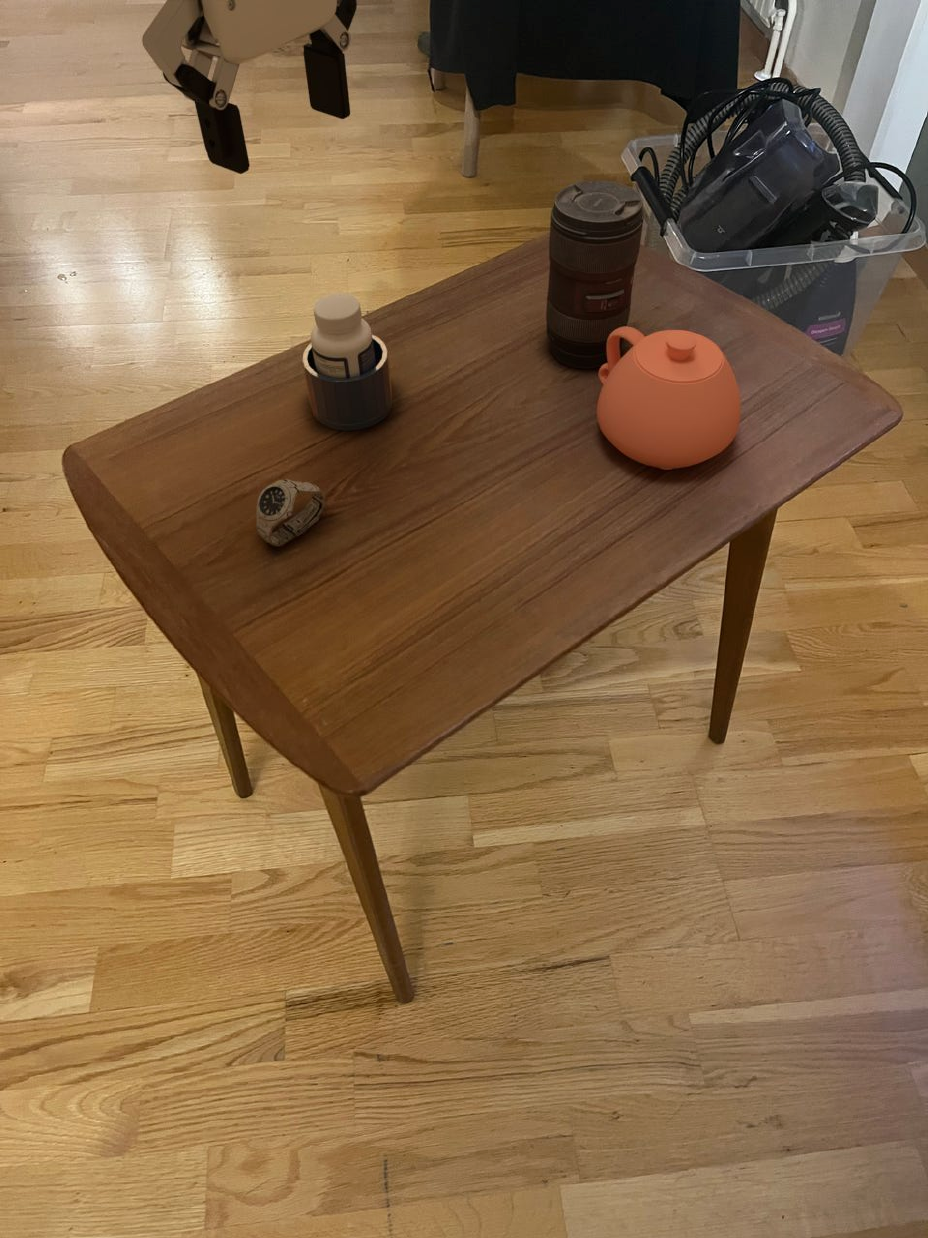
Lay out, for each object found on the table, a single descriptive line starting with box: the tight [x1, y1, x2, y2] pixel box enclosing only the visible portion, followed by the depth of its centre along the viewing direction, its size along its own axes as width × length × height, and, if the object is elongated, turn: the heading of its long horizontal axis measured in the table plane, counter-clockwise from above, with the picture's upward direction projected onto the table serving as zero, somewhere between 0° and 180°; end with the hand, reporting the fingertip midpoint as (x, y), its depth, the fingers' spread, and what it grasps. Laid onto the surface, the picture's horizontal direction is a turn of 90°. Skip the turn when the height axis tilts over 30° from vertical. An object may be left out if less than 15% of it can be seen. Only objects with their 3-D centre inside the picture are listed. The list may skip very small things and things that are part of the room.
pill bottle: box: [310, 292, 376, 378], centre depth 81 cm, size 5×5×10 cm
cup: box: [301, 334, 394, 432], centre depth 83 cm, size 8×8×6 cm
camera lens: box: [545, 180, 645, 369], centre depth 84 cm, size 8×8×15 cm
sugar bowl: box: [596, 325, 742, 471], centre depth 78 cm, size 12×14×10 cm
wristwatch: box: [255, 478, 326, 548], centre depth 74 cm, size 4×6×5 cm, turn 135°
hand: (282, 138), depth 61 cm, fingers open, 9 cm apart
